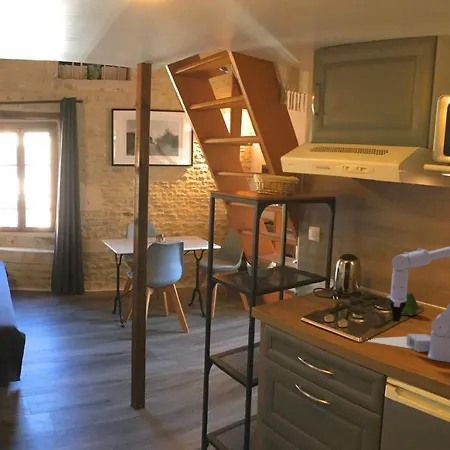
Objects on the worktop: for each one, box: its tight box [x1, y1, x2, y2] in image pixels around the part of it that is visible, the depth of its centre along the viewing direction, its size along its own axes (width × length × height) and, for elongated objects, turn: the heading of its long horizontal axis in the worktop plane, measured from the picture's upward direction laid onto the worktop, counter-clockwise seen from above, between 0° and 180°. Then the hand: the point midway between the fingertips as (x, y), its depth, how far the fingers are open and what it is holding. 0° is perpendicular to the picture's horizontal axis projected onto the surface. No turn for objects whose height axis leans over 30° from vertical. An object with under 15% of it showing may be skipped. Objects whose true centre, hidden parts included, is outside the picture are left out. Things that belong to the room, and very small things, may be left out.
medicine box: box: [406, 333, 431, 353], centre depth 193 cm, size 8×4×9 cm
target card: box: [366, 336, 413, 350], centre depth 205 cm, size 20×20×1 cm
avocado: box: [402, 291, 418, 316], centre depth 235 cm, size 8×8×12 cm
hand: (396, 321), depth 191 cm, fingers closed
